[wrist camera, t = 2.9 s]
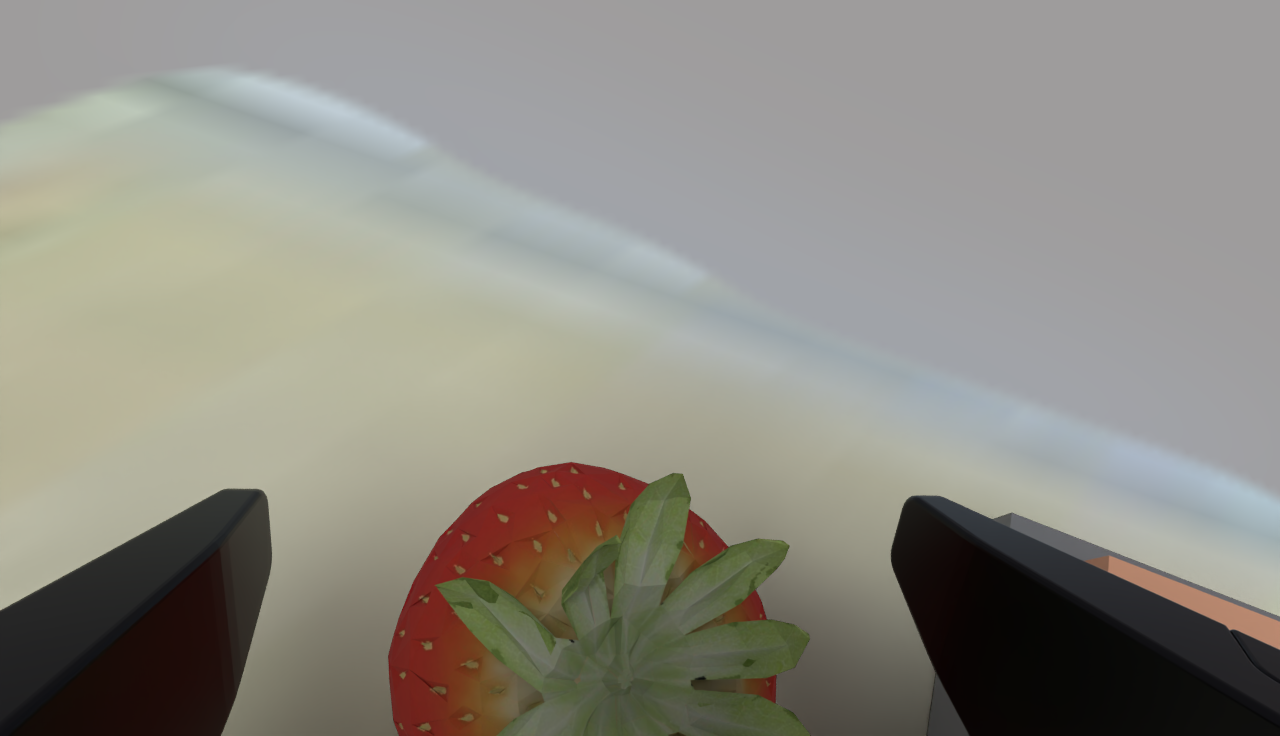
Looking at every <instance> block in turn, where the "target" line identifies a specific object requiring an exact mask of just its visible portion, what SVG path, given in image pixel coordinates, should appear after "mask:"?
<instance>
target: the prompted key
mask: <svg viewBox="0 0 1280 736" xmlns="http://www.w3.org/2000/svg"><path fill="white" fill-rule="evenodd" d="M1085 562H1087V563H1089V564H1092V565H1094V566H1096V567H1098V568H1100V569H1103V570H1105V571H1107V572H1109V573H1112V574H1114V575H1116V576H1118V577H1120V578H1123V579H1125V580H1127V581H1129V582H1131V583H1134V584H1136V585H1138V586H1140V587H1142V588H1145V589H1147V590H1149V591H1151V592H1153V593H1156V594H1158V595H1160V596H1162V597H1164V598H1167V599H1169V600H1171V601H1173V602H1175V603H1178V604H1180V605H1182V606H1184V607H1187V608H1189V609H1191V610H1193V611H1195V612H1198V613H1200V614H1202V615H1204V616H1206V617H1209V618H1211V619H1213V620H1215V621H1217V622H1220V623H1222V624H1224V625H1226V626H1227V627H1228V629H1229V630H1231V629H1235V630H1238V631H1240V632H1242V633H1244V634H1246V635H1249V636H1251V637H1253V638H1255V639H1257V640H1260V641H1262V642H1264V643H1266V644H1268V645H1271V646H1273V647H1275V648H1277V649H1280V622H1279V621H1277V620H1274V619H1272V618H1269V617H1267V616H1264V615H1261V614H1259V613H1256V612H1254V611H1251V610H1249V609H1246V608H1243V607H1241V606H1238V605H1236V604H1233V603H1230V602H1228V601H1225V600H1223V599H1220V598H1218V597H1215V596H1212V595H1210V594H1207V593H1205V592H1202V591H1200V590H1197V589H1194V588H1192V587H1189V586H1187V585H1184V584H1182V583H1179V582H1176V581H1174V580H1171V579H1169V578H1166V577H1164V576H1161V575H1158V574H1156V573H1153V572H1151V571H1148V570H1146V569H1143V568H1140V567H1138V566H1135V565H1133V564H1130V563H1127V562H1125V561H1122V560H1120V559H1117V558H1115V557H1112V556H1104V557H1100V558H1095V559H1090V560H1086V561H1085Z"/></svg>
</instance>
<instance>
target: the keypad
mask: <svg viewBox="0 0 1280 736" xmlns="http://www.w3.org/2000/svg"><path fill="white" fill-rule="evenodd" d="M992 520H995V521H997V522H999V523H1001V524H1003V525H1006V526H1008V527H1010V528H1012V529H1014V530H1017V531H1019V532H1021V533H1023V534H1025V535H1028V536H1030V537H1032V538H1034V539H1037V540H1039V541H1041V542H1043V543H1045V544H1048V545H1050V546H1052V547H1054V548H1056V549H1059V550H1061V551H1063V552H1065V553H1067V554H1070V555H1072V556H1074V557H1076V558H1078V559H1081V560H1083V561H1086V560H1090V559H1095V558H1100V557H1104V556H1112V557H1115V558H1117V559H1120V560H1122V561H1125V562H1127V563H1130V564H1133V565H1135V566H1138V567H1140V568H1143V569H1146V570H1148V571H1151V572H1153V573H1156V574H1158V575H1161V576H1164V577H1166V578H1169V579H1171V580H1174V581H1176V582H1179V583H1182V584H1184V585H1187V586H1189V587H1192V588H1194V589H1197V590H1200V591H1202V592H1205V593H1207V594H1210V595H1212V596H1215V597H1218V598H1220V599H1223V600H1225V601H1228V602H1230V603H1233V604H1236V605H1238V606H1241V607H1243V608H1246V609H1249V610H1251V611H1254V612H1256V613H1259V614H1261V615H1264V616H1267V617H1269V618H1272V619H1274V620H1277V621H1279V622H1280V617H1279V616H1277V615H1274V614H1271V613H1269V612H1266V611H1264V610H1261V609H1259V608H1256V607H1253V606H1251V605H1248V604H1246V603H1243V602H1241V601H1238V600H1235V599H1233V598H1230V597H1228V596H1225V595H1223V594H1220V593H1217V592H1215V591H1212V590H1210V589H1207V588H1205V587H1202V586H1199V585H1197V584H1194V583H1192V582H1189V581H1187V580H1184V579H1181V578H1179V577H1176V576H1174V575H1171V574H1169V573H1166V572H1163V571H1161V570H1158V569H1156V568H1153V567H1150V566H1148V565H1145V564H1143V563H1140V562H1138V561H1135V560H1132V559H1130V558H1127V557H1125V556H1122V555H1120V554H1117V553H1114V552H1112V551H1109V550H1107V549H1104V548H1102V547H1099V546H1096V545H1094V544H1091V543H1089V542H1086V541H1084V540H1081V539H1078V538H1076V537H1073V536H1071V535H1068V534H1066V533H1063V532H1060V531H1058V530H1055V529H1053V528H1050V527H1048V526H1045V525H1042V524H1040V523H1037V522H1035V521H1032V520H1030V519H1027V518H1024V517H1022V516H1019V515H1017V514H1014V513H1009V514H1006V515H1004V516H1001V517H998V518H995V519H992ZM927 736H969V735H968V733H967V731H966V729H965V727H964V725H963V723H962V722H961V720H960V718H959V716H958V714H957V712H956V710H955V708H954V707H953V705H952V703H951V701H950V699H949V697H948V695H947V693H946V692H945V690H944V688H943V686H942V684H941V682H940V680H939V678H938V676H937V674H936V677H935V684H934V691H933V698H932V705H931V712H930V719H929V726H928V733H927Z"/></svg>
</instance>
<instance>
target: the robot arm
mask: <svg viewBox="0 0 1280 736" xmlns="http://www.w3.org/2000/svg"><path fill="white" fill-rule="evenodd" d="M271 563H272V547H271V534H270V521H269V508H268V500H267V496H266V494H265V493H264V492H263V491H262V490H259V489H224V490H221V491H219V492H217V493H216V494H214V495H212V496H210V497H208V498H206V499H205V500H203V501H201V502H199V503H197V504H195V505H194V506H192V507H190V508H188V509H186V510H184V511H183V512H181V513H179V514H177V515H175V516H173V517H172V518H170V519H168V520H166V521H164V522H162V523H160V524H159V525H157V526H155V527H153V528H151V529H149V530H148V531H146V532H144V533H142V534H140V535H138V536H137V537H135V538H133V539H131V540H129V541H127V542H126V543H124V544H122V545H120V546H118V547H116V548H115V549H113V550H111V551H109V552H107V553H105V554H104V555H102V556H100V557H98V558H96V559H94V560H92V561H91V562H89V563H87V564H85V565H83V566H81V567H80V568H78V569H76V570H74V571H72V572H70V573H69V574H67V575H65V576H63V577H61V578H59V579H58V580H56V581H54V582H52V583H50V584H48V585H46V586H45V587H43V588H41V589H39V590H37V591H35V592H34V593H32V594H30V595H28V596H26V597H24V598H23V599H21V600H19V601H17V602H15V603H13V604H12V605H10V606H8V607H6V608H4V609H2V610H1V611H0V736H221V734H222V732H223V729H224V727H225V724H226V722H227V719H228V717H229V714H230V711H231V709H232V706H233V703H234V701H235V698H236V695H237V691H238V688H239V685H240V681H241V678H242V674H243V671H244V667H245V663H246V660H247V656H248V652H249V649H250V645H251V641H252V638H253V634H254V630H255V627H256V623H257V619H258V616H259V612H260V608H261V605H262V601H263V597H264V594H265V590H266V586H267V583H268V579H269V575H270V570H271ZM891 563H892V567H893V571H894V573H895V576H896V578H897V580H898V583H899V585H900V588H901V590H902V593H903V595H904V598H905V600H906V602H907V605H908V607H909V610H910V612H911V615H912V617H913V620H914V622H915V624H916V627H917V629H918V632H919V634H920V637H921V639H922V642H923V644H924V647H925V649H926V651H927V654H928V656H929V658H930V661H931V663H932V665H933V667H934V670H935V672H936V674H937V676H938V678H939V680H940V682H941V684H942V686H943V688H944V690H945V692H946V693H947V695H948V697H949V699H950V701H951V703H952V705H953V707H954V708H955V710H956V712H957V714H958V716H959V718H960V720H961V722H962V723H963V725H964V727H965V729H966V731H967V733H968V735H969V736H1280V649H1277V648H1275V647H1273V646H1271V645H1268V644H1266V643H1264V642H1262V641H1260V640H1257V639H1255V638H1253V637H1251V636H1249V635H1246V634H1244V633H1242V632H1240V631H1238V630H1235V629H1231V630H1229V629H1228V627H1227V626H1226V625H1224V624H1222V623H1220V622H1217V621H1215V620H1213V619H1211V618H1209V617H1206V616H1204V615H1202V614H1200V613H1198V612H1195V611H1193V610H1191V609H1189V608H1187V607H1184V606H1182V605H1180V604H1178V603H1175V602H1173V601H1171V600H1169V599H1167V598H1164V597H1162V596H1160V595H1158V594H1156V593H1153V592H1151V591H1149V590H1147V589H1145V588H1142V587H1140V586H1138V585H1136V584H1134V583H1131V582H1129V581H1127V580H1125V579H1123V578H1120V577H1118V576H1116V575H1114V574H1112V573H1109V572H1107V571H1105V570H1103V569H1100V568H1098V567H1096V566H1094V565H1092V564H1089V563H1087V562H1085V561H1083V560H1081V559H1078V558H1076V557H1074V556H1072V555H1070V554H1067V553H1065V552H1063V551H1061V550H1059V549H1056V548H1054V547H1052V546H1050V545H1048V544H1045V543H1043V542H1041V541H1039V540H1037V539H1034V538H1032V537H1030V536H1028V535H1025V534H1023V533H1021V532H1019V531H1017V530H1014V529H1012V528H1010V527H1008V526H1006V525H1003V524H1001V523H999V522H997V521H995V520H992V519H990V518H988V517H986V516H984V515H981V514H979V513H977V512H975V511H973V510H970V509H968V508H966V507H964V506H962V505H959V504H957V503H955V502H953V501H950V500H948V499H946V498H944V497H941V496H911V497H910V498H908V499H907V500H906V502H905V503H904V506H903V508H902V512H901V515H900V519H899V523H898V526H897V530H896V533H895V537H894V541H893V544H892V549H891Z"/></svg>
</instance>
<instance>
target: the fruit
mask: <svg viewBox="0 0 1280 736" xmlns="http://www.w3.org/2000/svg"><path fill="white" fill-rule="evenodd" d="M690 500H691V497H690V494H689V491H688V488H687V485H686V482H685V479H684V476H683V474H676V473H672V474H670V475H668V476H666V477H664V478H661V479H659V480H657V481H655V482H652V483H650V484H647V483H645V482H642V481H640V480H637V479H634V478H632V477H629V476H627V475H624V474H621V473H618V472H615V471H612V470H609V469H606V468H602V467H596V466H590V465H584V464H579V463H573V462H569V463H563V464H557V465H551V466H545V467H538V468H536V469H533V470H530V471H527V472H522V473H520V474H518V475H516V476H514V477H512V478H510V479H508V480H506V481H504V482H502V483H500V484H498V485H496V486H494V487H492V488H490V489H489V490H488V491H486V492H485V493H484V494H482V495H481V496H480V497H479V498H477V499H476V500H475V501H474V502H472V503H471V504H470V505H469V507H468V508H467V509H466V510H465V511H464V512H463V513H462V514H461V515H460V517H459V518H458V519H457V520H456V521H455V522H454V523H453V524H452V525H451V526H450V527H449V528H448V529H447V530H446V531H445V532H444V533H443V534H442V535H441V536H440V538H439V539H438V541H437V542H436V544H435V546H434V548H433V549H432V551H431V553H430V554H429V556H428V558H427V559H426V561H425V563H424V565H423V566H422V568H421V570H420V571H419V573H418V575H417V576H416V578H415V580H414V582H413V584H412V587H411V589H410V592H409V594H408V597H407V599H406V602H405V604H404V607H403V609H402V612H401V614H400V617H399V619H398V623H397V626H396V629H395V633H394V636H393V639H392V643H391V647H390V651H389V655H388V660H389V680H390V691H391V701H392V711H393V720H394V723H395V726H396V729H397V731H398V734H399V736H811V735H810V734H809V732H808V731H807V730H806V729H805V727H804V726H803V725H802V723H801V722H800V721H799V719H798V718H797V717H796V715H795V714H794V713H793V712H791V711H789V710H787V709H785V708H783V707H781V706H779V705H777V704H776V674H779V673H782V672H784V671H787V670H790V669H792V668H795V666H796V664H797V662H798V660H799V659H800V657H801V655H802V653H803V651H804V649H805V647H806V645H807V643H808V642H809V640H810V637H809V634H808V633H806V632H805V631H803V630H802V629H800V628H799V627H797V626H796V625H794V624H789V623H785V622H780V621H775V620H767V619H766V615H765V612H764V609H763V605H762V602H761V599H760V597H759V595H758V594H757V592H756V590H755V589H756V588H757V587H758V586H759V585H760V584H761V583H763V582H764V581H765V580H766V579H767V578H768V577H769V576H770V575H771V574H772V573H773V572H774V571H775V570H776V569H777V568H778V567H779V565H780V564H781V563H782V561H783V560H784V559H785V557H786V554H787V551H788V549H789V545H788V544H786V543H785V542H784V541H780V540H768V539H755V540H751V541H748V542H744V543H740V544H736V545H732V546H730V547H728V546H727V545H726V544H725V543H724V542H723V540H722V539H721V538H720V537H719V536H718V535H717V534H716V533H715V531H714V530H713V529H712V528H711V527H710V526H709V525H708V524H707V523H706V521H704V520H703V519H702V518H700V517H699V516H698V515H697V514H695V513H694V512H693V511H691V510H690V509H689V506H690Z"/></svg>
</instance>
